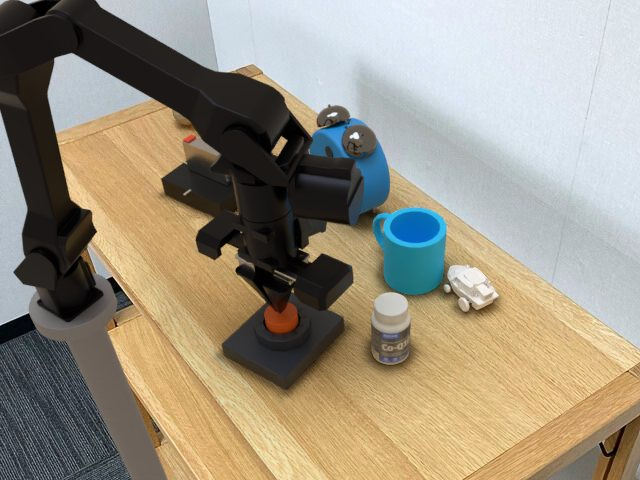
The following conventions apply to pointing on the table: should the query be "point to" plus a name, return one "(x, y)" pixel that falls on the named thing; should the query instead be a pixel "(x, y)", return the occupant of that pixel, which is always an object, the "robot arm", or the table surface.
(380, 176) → the alarm clock
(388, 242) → the mug
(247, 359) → the button box
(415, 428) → the table surface
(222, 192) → the base
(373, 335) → the pill bottle
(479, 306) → the toy car
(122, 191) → the table surface
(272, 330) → the button
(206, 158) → the tap handle
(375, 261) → the table surface
